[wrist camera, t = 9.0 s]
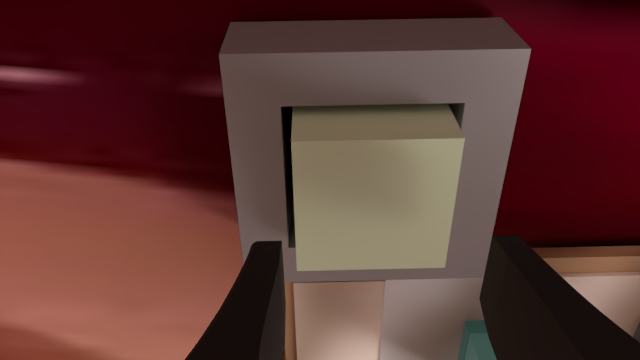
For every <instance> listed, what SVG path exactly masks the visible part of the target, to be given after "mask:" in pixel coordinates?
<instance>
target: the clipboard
mask: <svg viewBox="0 0 640 360" xmlns="http://www.w3.org/2000/svg"><path fill="white" fill-rule="evenodd" d="M532 249H533V250H534V251H535V252H536V253H537V254H538V255H539V256H540V257H541V258H542V259H543V260H544V261H546V262H547V263H548V264H549V265H550V266H551V267H552V268H553V269H554V270H555V271H556V272H557V273H558V274H559V275H560V276H561V277H562V278H563V279H565V280H566V281H567V282H568V283H569V284H570V285H571V286H572V287H573V288H574V289H575V290H577V291H578V292H579V293H580V294H581V295H582V296H583V297H584V298H585V299H587V300H588V301H589V302H590V303H591V304H592V305H594V306H595V307H596V308H597V309H598V310H599V311H601V312H602V313H603V314H604V315H606V316H607V317H608V318H609V319H610V320H612V321H613V322H614V323H615V324H617V325H618V326H619V327H620V328H622V329H623V330H624V331H625V332H627V333H628V334H629V335H631V336H632V337H633V338H635V339H636V340H637V341H639V342H640V246H599V247H554V248H532ZM488 254H489V253H488ZM487 259H488V258H487ZM486 264H487V263H486ZM485 269H486V268H485ZM484 273H485V272H484ZM483 278H484V277H483ZM483 278H452V279H408V280H364V281H321V282H284V283H285V299H286V318H285V355H286V360H458V355H459V350H460V345H461V340H462V334H463V329H464V324H465V321H477V320H484V317H483V313H482V308H481V304H480V300H479V297H480V292H481V288H482V283H483Z"/></svg>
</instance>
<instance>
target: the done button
mask: <svg viewBox="0 0 640 360" xmlns="http://www.w3.org/2000/svg"><path fill="white" fill-rule="evenodd" d="M464 141H465V137H464V135H463V133H462V131H461V129H460V127H459V125H458V123H457V121H456V119H455V117H454V115H453V113H452V111H451V109H450V107H449V105H448V103H441V104H388V105H336V106H293V108H292V131H291V153H292V175H293V197H294V219H295V241H296V263H297V271H322V270H366V269H410V268H445V264H446V258H447V251H448V245H449V238H450V232H451V225H452V219H453V213H454V206H455V200H456V193H457V187H458V180H459V174H460V167H461V161H462V154H463V148H464Z"/></svg>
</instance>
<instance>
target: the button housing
mask: <svg viewBox="0 0 640 360" xmlns="http://www.w3.org/2000/svg"><path fill="white" fill-rule="evenodd" d="M530 52H531V48H530V47H529V46H528V45H527V44H526V43H525V42H524V41H523V40H522V38H521V37H520V36H519V35H518V34H517V33H516V32H515V31H514V30H513V29H512V28H511V27H510V26H509V25H508V24H507V23H506V22H505V21H504V20H503V19H502V18H501V17H499V18H440V19H382V20H324V21H266V22H230V24H229V27H228V30H227V33H226V36H225V38H224V41H223V44H222V47H221V49H220V52H219V61H220V69H221V78H222V87H223V95H224V104H225V112H226V121H227V129H228V138H229V146H230V155H231V163H232V172H233V181H234V189H235V198H236V206H237V215H238V223H239V232H240V240H241V249H242V257H243V265H244V263H245V260H246V258H247V256H248V253H249V251H250V248H251V245H252V244H253V243H254V242H256V241H282V251H283V267H284V282H321V281H364V280H408V279H452V278H483V277H484V272H485V268H486V263H487V258H488V253H489V248H490V244H491V239H492V234H493V229H494V225H495V220H496V215H497V210H498V205H499V201H500V196H501V191H502V186H503V182H504V177H505V172H506V167H507V162H508V158H509V153H510V148H511V143H512V139H513V134H514V129H515V124H516V119H517V115H518V110H519V105H520V100H521V96H522V91H523V86H524V81H525V76H526V72H527V67H528V62H529V57H530ZM441 103H448V105H449V107H450V109H451V111H452V113H453V115H454V117H455V119H456V121H457V123H458V125H459V127H460V129H461V131H462V133H463V135H464V137H465V141H464V148H463V154H462V161H461V167H460V174H459V180H458V187H457V193H456V200H455V206H454V213H453V219H452V225H451V232H450V238H449V245H448V251H447V258H446V264H445V268H410V269H366V270H322V271H297V263H296V241H295V219H294V200H293V201H290V184H289V164H288V144H287V124H286V106H336V105H388V104H441Z"/></svg>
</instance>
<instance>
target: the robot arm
mask: <svg viewBox="0 0 640 360" xmlns="http://www.w3.org/2000/svg"><path fill="white" fill-rule="evenodd" d="M479 300H480V304H481V308H482V313H483V317H484V321H485V325H486V329H487V333H488V337H489V340H490V343H491V346H492V348H493V351H494V354H495V356H496V359H497V360H640V342H639V341H637V340H636V339H635V338H633V337H632V336H631V335H629V334H628V333H627V332H625V331H624V330H623V329H622V328H620V327H619V326H618V325H617V324H615V323H614V322H613V321H612V320H610V319H609V318H608V317H607V316H606V315H604V314H603V313H602V312H601V311H599V310H598V309H597V308H596V307H595V306H594V305H592V304H591V303H590V302H589V301H588V300H587V299H585V298H584V297H583V296H582V295H581V294H580V293H579V292H578V291H577V290H575V289H574V288H573V287H572V286H571V285H570V284H569V283H568V282H567V281H566V280H565V279H563V278H562V277H561V276H560V275H559V274H558V273H557V272H556V271H555V270H554V269H553V268H552V267H551V266H550V265H549V264H548V263H547V262H546V261H544V260H543V259H542V258H541V257H540V256H539V255H538V254H537V253H536V252H535V251H534V250H533V249H532V248H531V247H530V246H529V245H528V244H527V243H526V242H525V241H524V240H523V239H522V238H520V237H519V236H518V235H515V236H492V240H491V245H490V249H489V254H488V259H487V264H486V269H485V273H484V278H483V283H482V288H481V292H480V297H479ZM285 318H286V299H285V283H284V267H283V251H282V241H256V242H254V243H253V244H252V245H251V248H250V251H249V253H248V256H247V258H246V260H245V263H244V265H243V267H242V269H241V271H240V273H239V275H238V277H237V279H236V281H235V283H234V285H233V287H232V288H231V290H230V292H229V294H228V295H227V297H226V299H225V301H224V303H223V304H222V306H221V308H220V309H219V311H218V313H217V314H216V316H215V317H214V319H213V320H212V322H211V323H210V325H209V326H208V328H207V329H206V331H205V332H204V334H203V335H202V337H201V338H200V340H199V341H198V343H197V344H196V345H195V347H194V348H193V349H192V351H191V352H190V353H189V355H188V356H187V357H186V359H185V360H283V355H284V347H285Z"/></svg>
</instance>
